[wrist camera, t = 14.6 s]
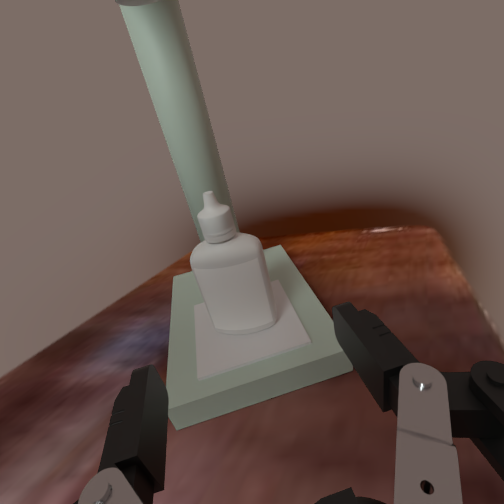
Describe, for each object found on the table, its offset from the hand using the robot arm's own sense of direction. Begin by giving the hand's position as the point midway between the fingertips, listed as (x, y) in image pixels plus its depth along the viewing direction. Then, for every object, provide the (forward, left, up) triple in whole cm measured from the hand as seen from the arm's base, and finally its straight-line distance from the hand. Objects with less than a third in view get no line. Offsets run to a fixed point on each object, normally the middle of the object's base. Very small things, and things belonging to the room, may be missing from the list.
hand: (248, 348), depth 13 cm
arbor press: (-3, +14, -11) cm, 18 cm away
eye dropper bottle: (-4, +10, -8) cm, 13 cm away
